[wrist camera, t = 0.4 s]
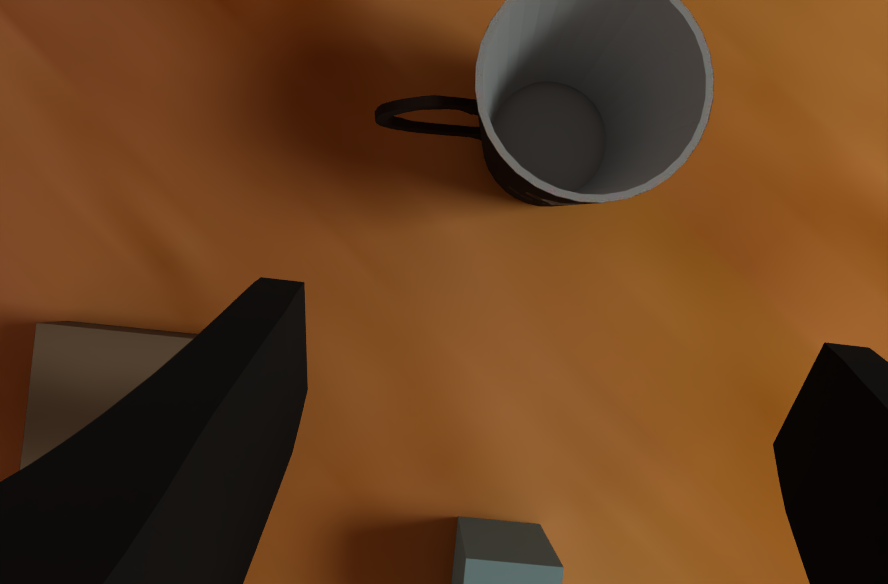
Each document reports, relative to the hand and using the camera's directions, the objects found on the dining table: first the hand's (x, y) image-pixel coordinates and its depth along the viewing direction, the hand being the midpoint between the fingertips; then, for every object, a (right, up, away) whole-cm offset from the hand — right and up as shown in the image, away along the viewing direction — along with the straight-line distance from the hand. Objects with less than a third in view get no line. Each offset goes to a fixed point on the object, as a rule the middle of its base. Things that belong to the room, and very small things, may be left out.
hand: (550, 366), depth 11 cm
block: (+1, -12, +26) cm, 29 cm away
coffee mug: (+2, +9, +27) cm, 28 cm away
